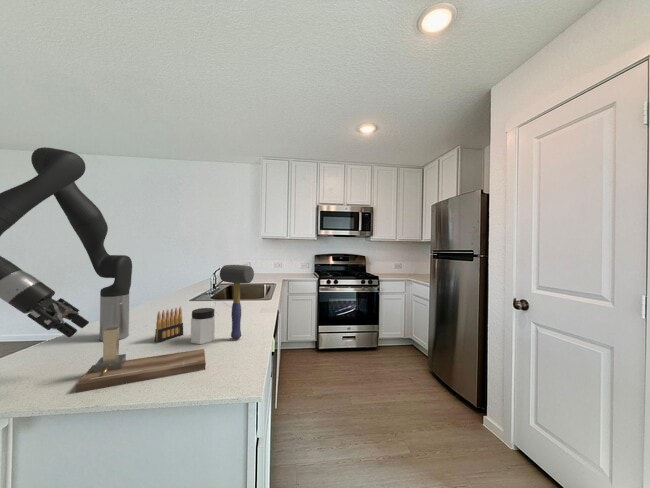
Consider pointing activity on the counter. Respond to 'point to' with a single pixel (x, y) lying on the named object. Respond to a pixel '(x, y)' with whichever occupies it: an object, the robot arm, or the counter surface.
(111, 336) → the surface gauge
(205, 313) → the jar
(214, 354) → the counter surface
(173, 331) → the ammunition clip
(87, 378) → the walnut board
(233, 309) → the rubber mallet
